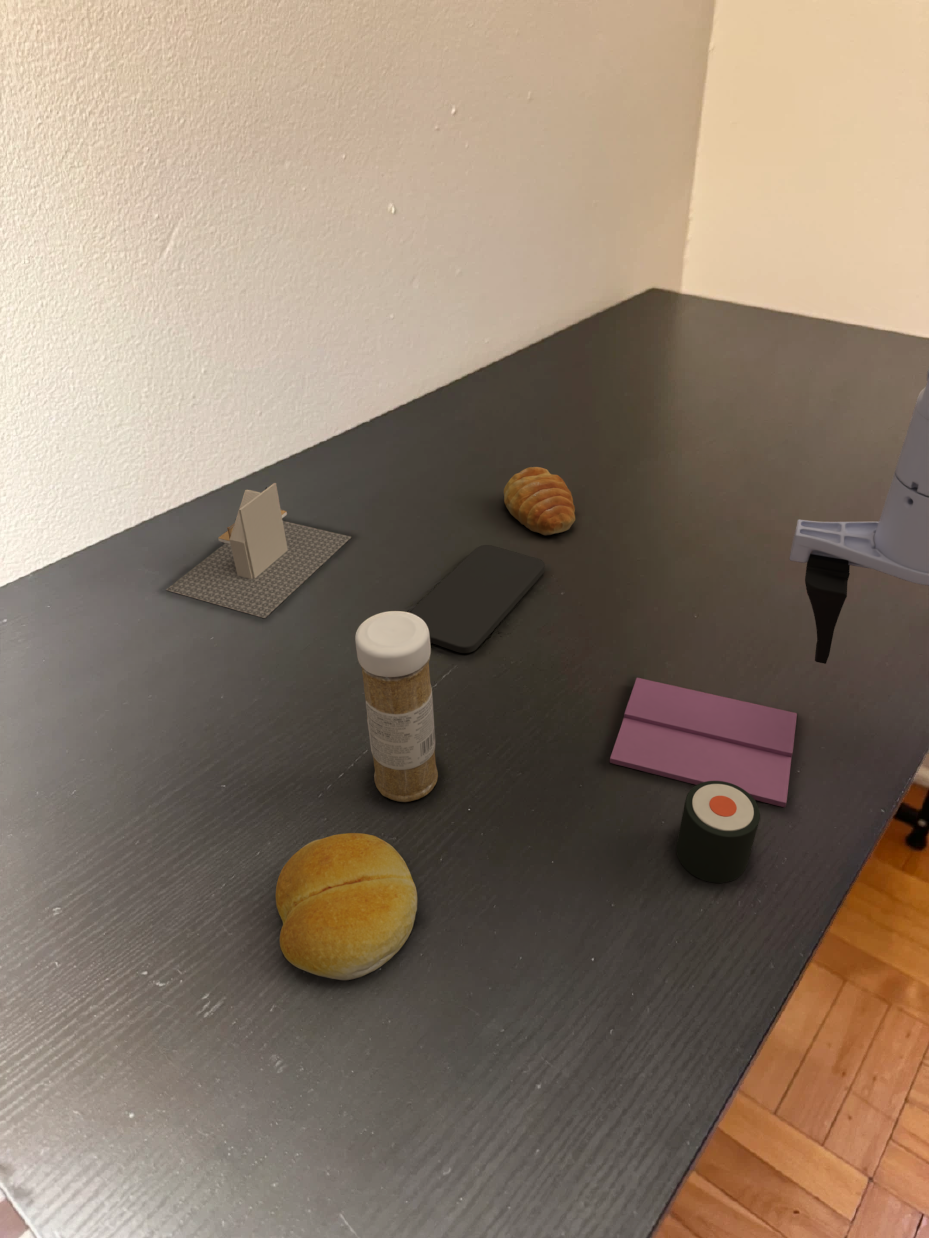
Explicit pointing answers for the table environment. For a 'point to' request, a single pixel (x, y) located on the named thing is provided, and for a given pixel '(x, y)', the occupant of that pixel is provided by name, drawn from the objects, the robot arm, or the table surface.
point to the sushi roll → (717, 831)
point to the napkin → (707, 739)
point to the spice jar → (399, 703)
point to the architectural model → (259, 558)
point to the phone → (477, 596)
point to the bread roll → (345, 905)
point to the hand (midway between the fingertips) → (883, 666)
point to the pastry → (540, 501)
